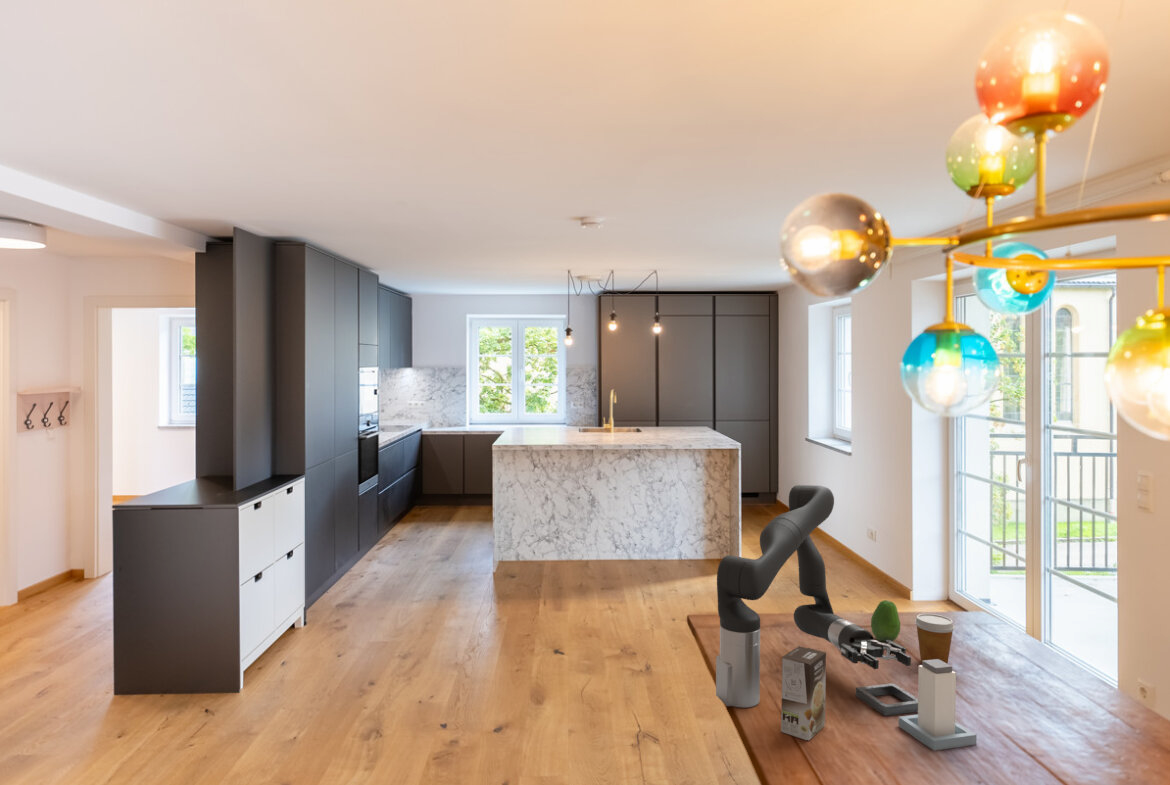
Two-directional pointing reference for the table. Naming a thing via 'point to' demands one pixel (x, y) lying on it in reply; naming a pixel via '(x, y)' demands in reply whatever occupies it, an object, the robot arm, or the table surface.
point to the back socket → (886, 689)
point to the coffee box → (803, 692)
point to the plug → (936, 698)
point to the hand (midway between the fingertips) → (893, 663)
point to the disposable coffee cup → (934, 636)
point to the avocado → (885, 621)
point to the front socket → (942, 742)
